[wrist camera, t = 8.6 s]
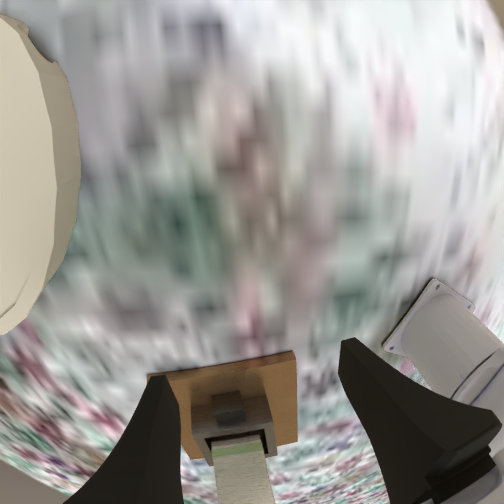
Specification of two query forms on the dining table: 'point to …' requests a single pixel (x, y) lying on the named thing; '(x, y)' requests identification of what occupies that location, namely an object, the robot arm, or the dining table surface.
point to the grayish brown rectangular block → (241, 471)
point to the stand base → (237, 403)
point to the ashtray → (33, 171)
